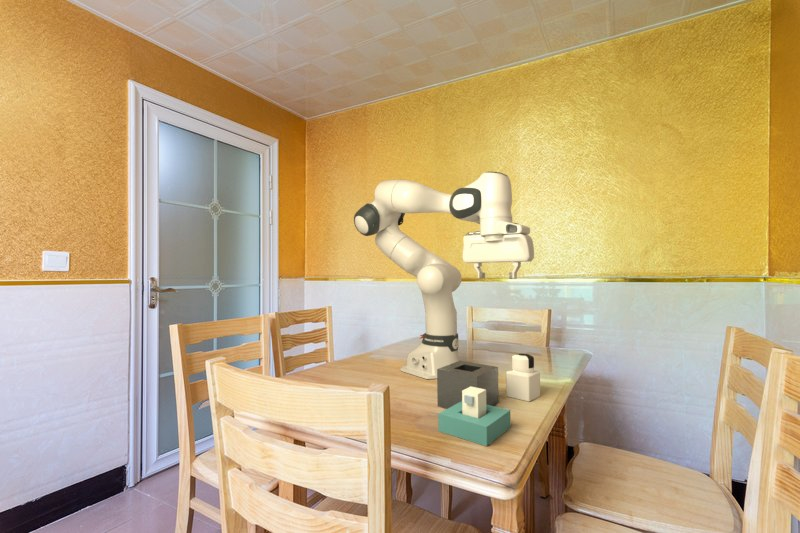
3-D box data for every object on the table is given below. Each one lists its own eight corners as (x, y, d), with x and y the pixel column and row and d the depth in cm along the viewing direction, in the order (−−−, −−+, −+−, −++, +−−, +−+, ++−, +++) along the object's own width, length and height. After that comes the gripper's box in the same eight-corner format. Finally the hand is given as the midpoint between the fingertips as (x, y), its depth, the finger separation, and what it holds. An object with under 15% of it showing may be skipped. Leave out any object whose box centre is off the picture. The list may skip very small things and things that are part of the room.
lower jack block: (438, 431, 86) (438, 413, 86) (465, 415, 95) (464, 399, 95) (486, 446, 78) (486, 427, 79) (510, 427, 88) (510, 410, 88)
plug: (460, 431, 86) (460, 391, 86) (471, 424, 90) (470, 386, 90) (476, 435, 84) (476, 395, 84) (486, 428, 87) (486, 389, 87)
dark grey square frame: (437, 406, 102) (437, 369, 102) (460, 394, 111) (459, 360, 111) (477, 416, 94) (477, 376, 94) (498, 403, 103) (498, 366, 104)
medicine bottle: (518, 390, 114) (517, 351, 114) (540, 396, 109) (540, 354, 109) (505, 396, 109) (505, 354, 109) (529, 402, 104) (528, 358, 104)
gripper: (458, 231, 110) (458, 278, 110) (527, 225, 97) (527, 279, 97) (468, 233, 115) (469, 278, 115) (535, 227, 102) (536, 278, 102)
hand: (496, 278), depth 106 cm, fingers open, 8 cm apart
